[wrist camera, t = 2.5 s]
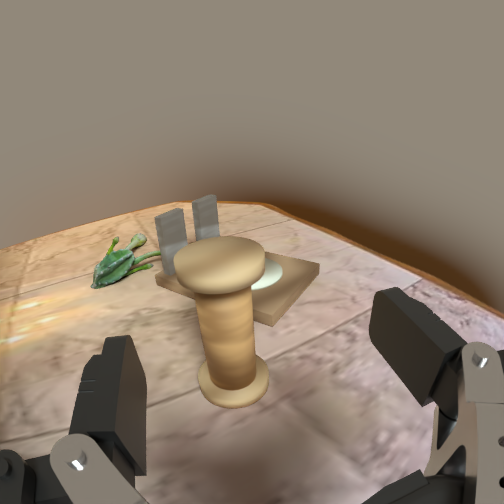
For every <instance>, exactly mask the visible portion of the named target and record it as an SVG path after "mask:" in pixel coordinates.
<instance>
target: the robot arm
mask: <svg viewBox="0 0 504 504" xmlns="http://www.w3.org/2000/svg"><path fill="white" fill-rule="evenodd" d="M369 336H370V339H371V342H372V344H373V345H374V346H375V347H376V349H377V350H378V351H379V353H380V354H381V355H382V356H383V358H384V359H385V360H386V361H387V363H388V364H389V365H390V366H391V368H392V369H393V370H394V371H395V373H396V374H397V375H398V377H399V378H400V379H401V380H402V382H403V383H404V384H405V386H406V387H407V388H408V389H409V391H410V392H411V393H412V395H413V396H414V397H415V399H416V400H417V401H418V403H419V404H420V405H421V406H422V407H423V406H425V405H427V404H429V403H431V402H433V401H434V402H435V403H436V404H437V405H436V407H435V410H434V421H433V435H432V446H431V455H430V459H429V462H428V464H427V466H426V469H425V471H424V474H422V472H421V470H420V469H419V470H417V471H416V472H414V473H412V474H410V475H408V476H406V477H404V478H402V479H400V480H398V481H396V482H394V483H392V484H389V485H387V486H385V487H384V488H382V489H381V490H380V491H378V492H377V493H376V494H374V495H373V496H372V497H370V498H369V499H368V500H366V501H365V502H363V503H362V504H504V350H500V351H496V350H495V349H494V348H492V347H491V346H489V345H488V344H485V343H482V342H471V343H467V342H466V341H465V340H464V339H462V338H461V337H460V336H459V335H458V334H457V333H456V332H455V331H454V330H453V329H452V328H451V327H449V326H448V325H447V324H446V323H445V322H444V321H443V320H440V318H439V317H438V316H437V315H436V314H435V313H434V314H433V311H432V310H430V309H429V308H428V307H427V306H426V305H425V304H424V303H422V302H419V301H417V300H415V299H413V298H411V297H409V296H408V295H407V294H405V293H404V292H403V291H402V290H401V289H400V288H398V287H393V288H389V289H385V290H381V291H378V292H376V294H375V296H374V300H373V307H372V313H371V319H370V324H369ZM78 391H79V393H78V394H77V398H76V402H75V407H74V411H73V416H72V420H71V425H70V430H69V434H68V435H67V436H65V437H63V438H61V439H60V440H59V441H58V442H57V443H56V444H55V445H54V446H53V448H52V450H51V453H50V454H49V455H45V456H41V457H37V458H32V459H28V460H23V459H22V458H21V457H20V456H19V455H18V454H17V453H16V452H14V451H12V450H1V451H0V504H149V503H148V502H147V501H146V500H145V499H144V498H143V497H142V496H141V495H140V493H139V492H138V491H137V490H136V489H135V476H147V474H146V400H147V384H146V377H145V373H144V370H143V367H142V365H141V362H140V360H139V357H138V354H137V351H136V349H135V346H134V343H133V340H132V338H131V336H130V335H124V336H115V337H107V338H106V339H105V342H104V346H103V350H102V354H100V355H93V356H92V357H91V359H90V360H89V361H88V363H87V364H86V365H85V367H84V370H83V374H82V377H81V382H80V385H79V389H78Z"/></svg>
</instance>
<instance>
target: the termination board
mask: <svg viewBox="0 0 504 504" xmlns="http://www.w3.org/2000/svg"><path fill="white" fill-rule="evenodd" d="M192 209H193V218H194V226H195V234H196V241H199V240H203V239H207V238H213V237H220V233H219V223H218V212H217V201H216V195H207V196H205V197H202V198H200V199H197V200H195V201H192ZM154 218H155V224H156V230H157V236H158V241H159V247H160V253H161V258H162V263H163V269H164V270H163V271H161V272H159V273H158V274H156V275H155V278H156V283H157V285H159V286H161V287H164V288H166V289H169V290H172V291H174V292H177V293H179V294H182V295H185V296H187V297H190V298H193V299H195V296H194V292H193V291H190V290H188V289H186V288H184V287H182V286H181V285H180V284H179V283H178V281H177V278H176V272H175V267H174V261H173V260H174V256H175V254H176V253H177V252H178V251H179V250H180V249H182V248H183V247H185V246H186V245H188V243H187V236H186V229H185V221H184V213H183V209H180V208H175V209H173V210H171V211H168V212H166V213H163V214H161V215H159V216H156V217H154ZM319 265H320V264H319V263H314V262H310V261H305V260H301V259H296V258H292V257H287V256H283V255H278V254H273V253H269V252H265V273H264V275H263V276H262V278H261V279H260V280H259V281H258V282H256V283H255V284H253V285H251V290H252V306H253V320H254V321H257V322H260V323H263V324H266V325H269V326H272V327H273V326H274V325H275V323H276V322H277V321H278V320H279V319H280V318H281V317H282V316H283V315H284V313H285V312H286V311H287V310H288V309H289V308H290V307H291V305H292V304H293V303H294V302H295V301H296V300H297V299H298V297H299V296H300V295H301V294H302V293H303V292H304V291H305V289H306V288H307V287H308V286H309V285H310V284H311V282H312V281H313V280H314V279H315V278H316V276H317V275H318V274H319Z"/></svg>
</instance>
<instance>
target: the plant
mask: <svg viewBox="0 0 504 504" xmlns="http://www.w3.org/2000/svg"><path fill="white" fill-rule="evenodd" d="M146 239H147V238H146V237H145V235H143V234H141V233H139V234H136V235H135V236H134V237H133V238H132V239H131V243H130V244H129V245H128V246H127V247H126V248H125V249H123V250H122V249H120V250H118V251H113V247H114V246H115V244H117V243H118V242H119V237H115V238H114V239H113V243H112V245H111V247H110V248H109V250H108V252H107V254H106V256H105V258H103V261H101V262H100V263H99V264H97V265H96V267H95V269H94V274H93V278H94V279H93V284H92V285H91V288H95V289H98V288H102V287H105V286H106V285H108V284H110V283H114V282H115V281H117V280H119V279H121V278H122V277H124V276H127V275H130V274H131V273H134V272H136V271H138V270H146V269H150V268H151V267H153V266H154V265H152V264H145V265H143V266H140V267H137V268H134V269H132V270H130V271H129V269H130V268H131V266H133V265H135V264H138V263H139V262H141V261H142V260H144V259H146V258H149V257H152V256H159V255H161V253H160V251H154V252H149V253H146V254H144V255H142V256H139V257H137V258H135V257H134V254H133V252H132V251H130V250H131V249H133V248H134V247H139V246H142V245H143V244H144V243H145V242H146Z"/></svg>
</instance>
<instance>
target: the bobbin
mask: <svg viewBox="0 0 504 504" xmlns="http://www.w3.org/2000/svg"><path fill="white" fill-rule="evenodd" d="M173 261H174V267H175V272H176V278H177V281H178V283H179V284H180V285H181V286H182V287H184V288H186V289H188V290H190V291H193V292H194V296H195V302H196V308H197V313H198V319H199V324H200V330H201V335H202V340H203V346H204V351H205V356H206V361H205V362H204V363H203V364H202V366H201V367H200V369H199V372H198V380H199V384H200V388H201V391H202V394H203V395H204V397H205V398H206V399H207V400H208V401H209V402H211V403H212V404H214V405H217V406H219V407H223V408H231V409H233V408H242V407H246V406H249V405H251V404H253V403H255V402H257V401H258V400H259V399H261V398H262V397H263V395H264V394H265V393H266V391H267V389H268V384H269V373H268V367H267V365H266V363H265V362H264V361H263V359H262V358H260V357H259V356H257V355H256V354H255V339H254V323H253V306H252V290H251V285H253V284H255V283H256V282H258V281H259V280H260V279H261V278H262V276H263V275H264V273H265V251H264V248H263V247H262V246H261V245H260V244H259V243H257V242H255V241H253V240H250V239H247V238H242V237H232V236H223V237H213V238H207V239H203V240H199V241H196V242H193V243H191V244H188V245H186V246H185V247H183V248H182V249H180V250H179V251H178V252H177V253H176V254H175V256H174V260H173Z"/></svg>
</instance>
